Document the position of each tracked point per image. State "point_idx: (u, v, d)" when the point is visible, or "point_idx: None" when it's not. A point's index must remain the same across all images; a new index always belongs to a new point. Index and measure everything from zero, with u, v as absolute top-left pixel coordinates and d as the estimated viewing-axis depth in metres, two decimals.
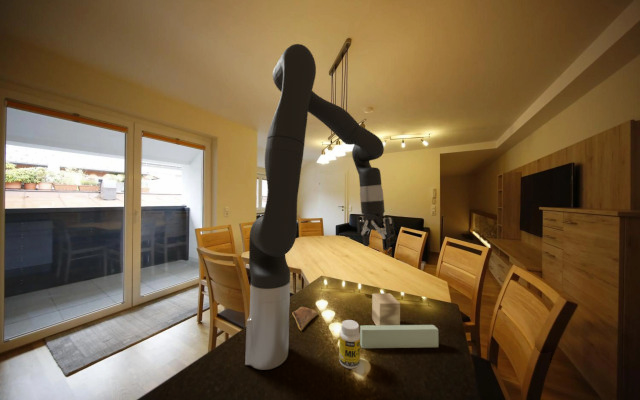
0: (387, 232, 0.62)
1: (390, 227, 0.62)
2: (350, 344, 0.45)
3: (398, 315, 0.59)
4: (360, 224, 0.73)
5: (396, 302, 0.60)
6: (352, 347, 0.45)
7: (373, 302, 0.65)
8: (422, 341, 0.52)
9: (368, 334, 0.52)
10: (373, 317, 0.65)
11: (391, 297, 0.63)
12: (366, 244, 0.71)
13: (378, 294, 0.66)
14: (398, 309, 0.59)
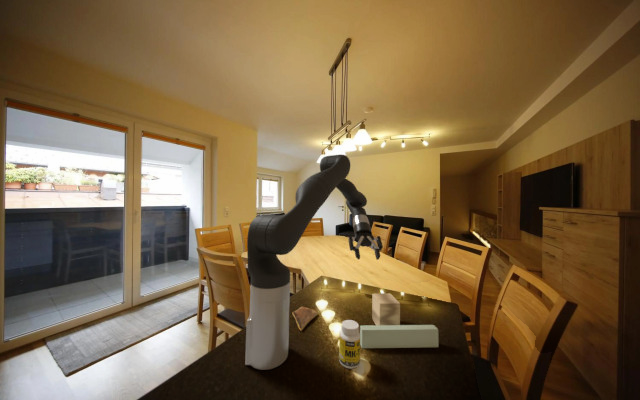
0: (380, 244, 0.86)
1: None
2: (350, 344, 0.45)
3: (398, 315, 0.59)
4: None
5: (396, 302, 0.60)
6: (352, 347, 0.45)
7: (373, 302, 0.65)
8: (422, 341, 0.52)
9: (368, 334, 0.52)
10: (373, 317, 0.65)
11: (391, 297, 0.63)
12: None
13: (378, 294, 0.66)
14: (398, 309, 0.59)
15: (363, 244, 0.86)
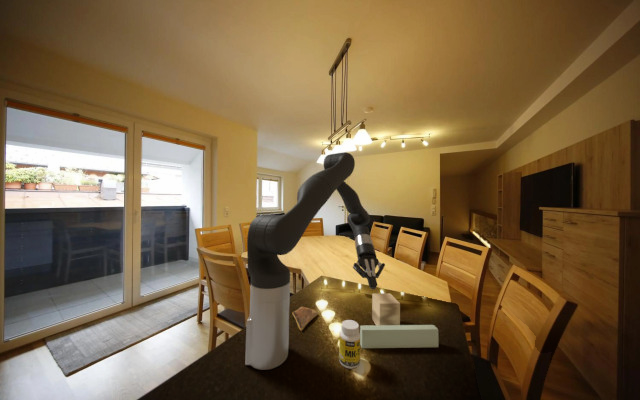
0: (379, 271, 0.77)
1: None
2: (350, 344, 0.45)
3: (398, 315, 0.59)
4: None
5: (396, 302, 0.60)
6: (352, 347, 0.45)
7: (373, 302, 0.65)
8: (422, 341, 0.52)
9: (368, 334, 0.52)
10: (373, 317, 0.65)
11: (391, 297, 0.63)
12: None
13: (378, 294, 0.66)
14: (398, 309, 0.59)
15: None
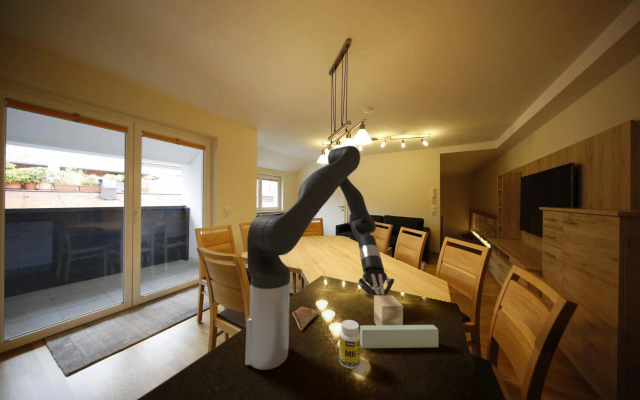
0: (387, 288, 0.69)
1: None
2: (350, 344, 0.45)
3: (401, 318, 0.58)
4: None
5: (399, 304, 0.58)
6: (352, 347, 0.45)
7: (375, 304, 0.64)
8: (422, 341, 0.52)
9: (368, 334, 0.52)
10: (375, 320, 0.63)
11: (394, 299, 0.62)
12: None
13: (380, 296, 0.64)
14: (401, 312, 0.58)
15: None
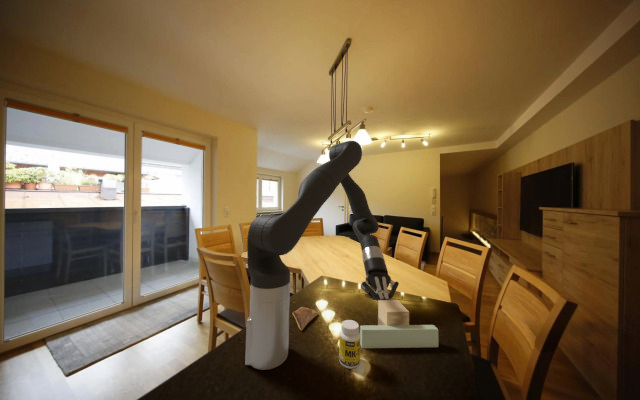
0: (392, 292, 0.65)
1: (395, 290, 0.67)
2: (350, 344, 0.45)
3: (407, 324, 0.54)
4: None
5: (405, 310, 0.55)
6: (352, 347, 0.45)
7: (379, 309, 0.60)
8: (422, 341, 0.52)
9: (368, 334, 0.52)
10: None
11: (399, 304, 0.58)
12: None
13: (384, 301, 0.61)
14: (407, 318, 0.55)
15: None
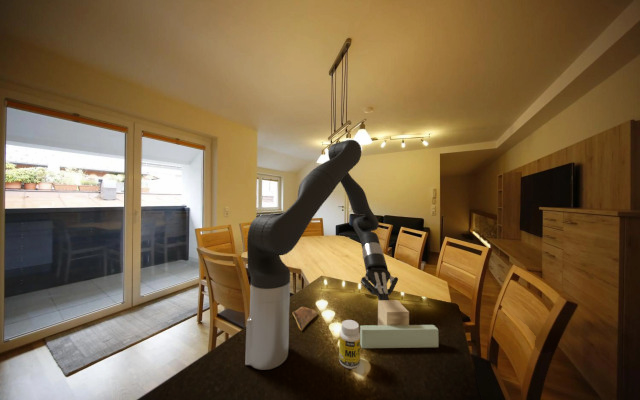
0: (391, 287, 0.66)
1: (394, 286, 0.67)
2: (350, 344, 0.45)
3: None
4: None
5: (405, 310, 0.55)
6: (352, 347, 0.45)
7: (379, 309, 0.60)
8: (422, 341, 0.52)
9: (368, 334, 0.52)
10: None
11: (399, 305, 0.59)
12: None
13: (384, 301, 0.61)
14: (407, 318, 0.55)
15: None
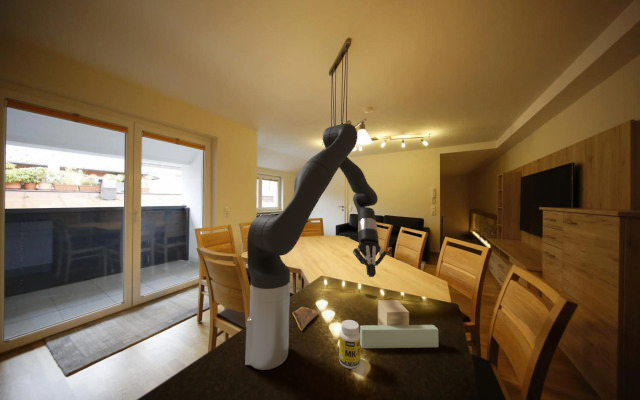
0: (379, 259, 0.74)
1: None
2: (350, 344, 0.45)
3: None
4: None
5: (405, 310, 0.55)
6: (352, 347, 0.45)
7: (379, 309, 0.60)
8: (422, 341, 0.52)
9: (368, 334, 0.52)
10: None
11: (399, 305, 0.59)
12: None
13: (384, 301, 0.61)
14: (407, 318, 0.55)
15: None
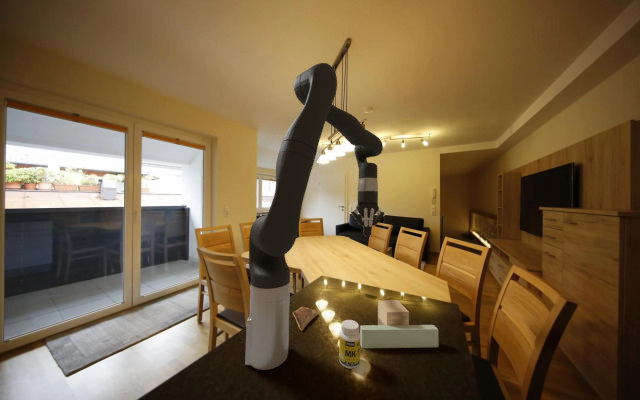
0: (376, 221, 0.76)
1: None
2: (350, 344, 0.45)
3: None
4: None
5: (404, 310, 0.55)
6: (352, 347, 0.45)
7: (379, 309, 0.60)
8: (422, 341, 0.52)
9: (368, 334, 0.52)
10: None
11: (399, 305, 0.59)
12: None
13: (384, 301, 0.61)
14: (407, 318, 0.55)
15: None
